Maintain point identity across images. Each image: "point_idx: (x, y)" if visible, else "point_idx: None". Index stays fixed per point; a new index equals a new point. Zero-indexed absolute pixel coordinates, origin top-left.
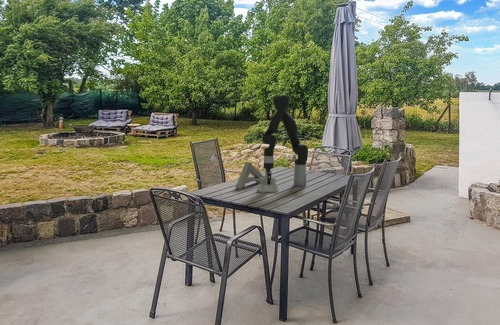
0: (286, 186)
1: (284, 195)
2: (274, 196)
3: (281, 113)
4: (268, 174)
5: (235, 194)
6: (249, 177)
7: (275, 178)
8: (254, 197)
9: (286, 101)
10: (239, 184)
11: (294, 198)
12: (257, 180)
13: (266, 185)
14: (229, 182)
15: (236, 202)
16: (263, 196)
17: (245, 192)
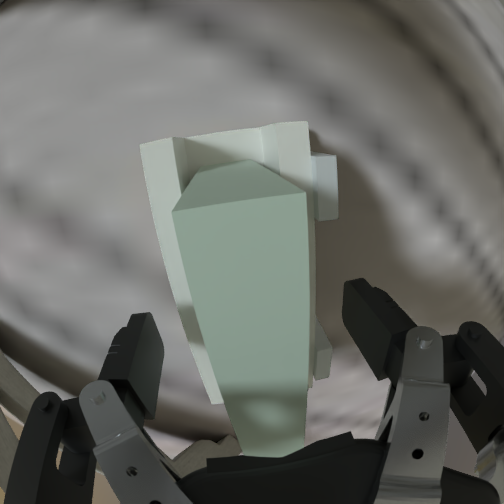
0: (11, 56)
1: (444, 95)
2: (465, 197)
3: None
4: (501, 427)
5: (359, 425)
6: (59, 448)
7: (303, 202)
8: (448, 333)
9: None
10: None
11: (491, 59)
12: (12, 373)
13: (310, 319)
14: None
15: (473, 371)
16: (449, 284)
17: (320, 407)
